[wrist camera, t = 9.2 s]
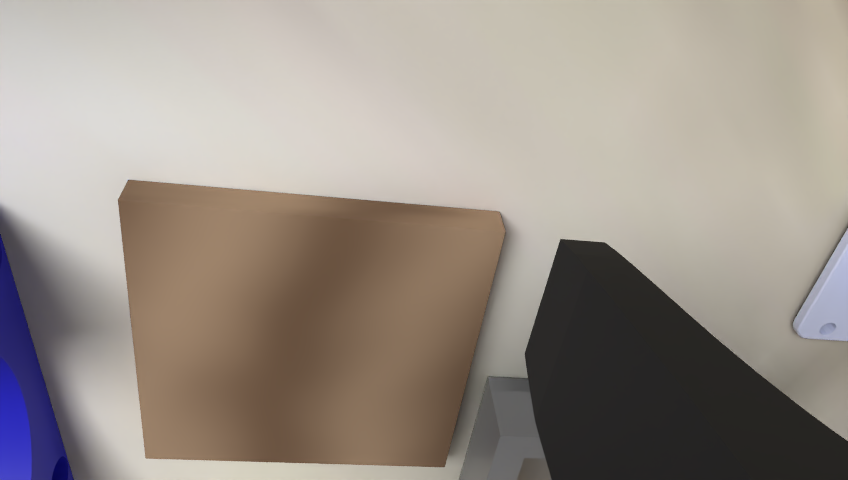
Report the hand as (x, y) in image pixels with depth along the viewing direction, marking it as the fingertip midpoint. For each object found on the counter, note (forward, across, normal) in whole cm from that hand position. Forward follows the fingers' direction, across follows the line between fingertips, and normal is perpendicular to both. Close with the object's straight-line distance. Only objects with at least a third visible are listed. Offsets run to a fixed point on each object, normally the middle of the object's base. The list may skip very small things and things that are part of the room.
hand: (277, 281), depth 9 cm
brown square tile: (+9, 0, +10) cm, 13 cm away
